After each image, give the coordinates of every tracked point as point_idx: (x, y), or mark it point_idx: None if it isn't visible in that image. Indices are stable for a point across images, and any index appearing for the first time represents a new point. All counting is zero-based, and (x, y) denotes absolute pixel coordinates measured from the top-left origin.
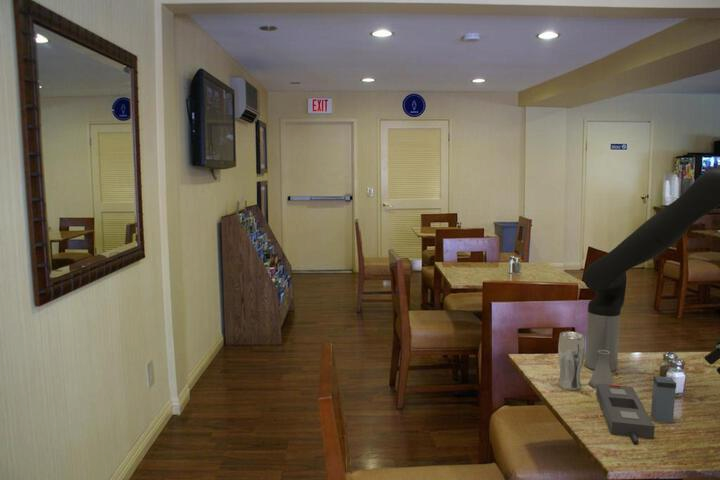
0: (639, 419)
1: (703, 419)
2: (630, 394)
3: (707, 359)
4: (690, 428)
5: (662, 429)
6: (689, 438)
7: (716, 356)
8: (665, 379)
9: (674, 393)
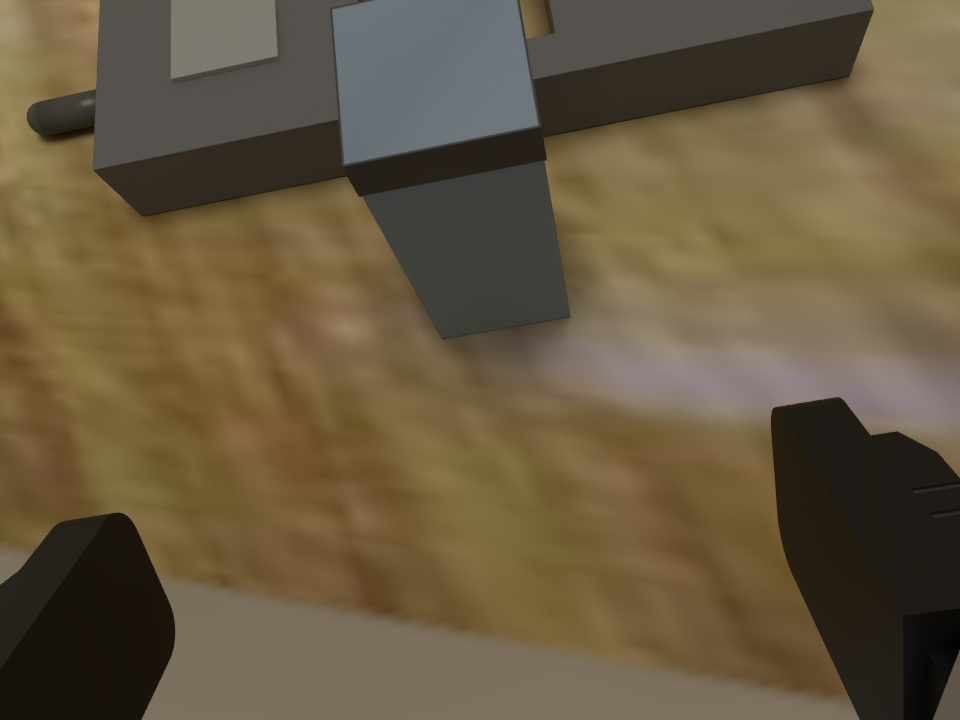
0: (178, 84)
1: (618, 579)
2: (661, 7)
3: (781, 456)
4: (384, 452)
5: (301, 268)
6: (206, 426)
7: (845, 627)
8: (444, 71)
9: (379, 217)
